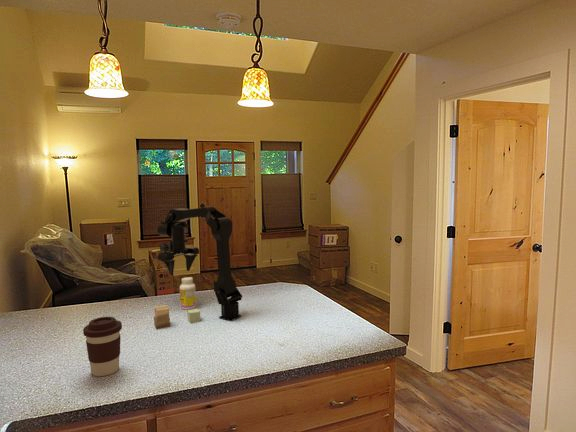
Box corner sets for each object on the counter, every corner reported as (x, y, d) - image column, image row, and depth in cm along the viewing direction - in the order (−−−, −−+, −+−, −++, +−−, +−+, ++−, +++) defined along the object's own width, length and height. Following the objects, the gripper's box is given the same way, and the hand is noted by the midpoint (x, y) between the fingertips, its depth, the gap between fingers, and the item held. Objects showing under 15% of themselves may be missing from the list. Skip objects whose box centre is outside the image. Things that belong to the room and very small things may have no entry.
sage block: (200, 321, 150) (200, 311, 149) (190, 323, 148) (189, 313, 148) (197, 318, 153) (197, 308, 153) (187, 320, 151) (187, 310, 151)
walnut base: (170, 327, 145) (169, 317, 144) (156, 329, 142) (155, 320, 142) (167, 322, 149) (167, 314, 149) (154, 325, 147) (153, 316, 147)
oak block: (169, 317, 145) (168, 308, 144) (156, 319, 143) (156, 310, 142) (167, 314, 149) (166, 305, 148) (154, 316, 146) (154, 307, 146)
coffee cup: (129, 362, 116) (126, 313, 115) (115, 379, 106) (112, 326, 105) (95, 363, 116) (92, 314, 115) (79, 380, 106) (75, 327, 105)
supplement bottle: (179, 306, 168) (177, 277, 167) (194, 304, 171) (193, 275, 170) (181, 311, 162) (180, 281, 161) (197, 308, 165) (196, 279, 164)
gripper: (182, 233, 178) (183, 266, 180) (148, 239, 163) (149, 275, 164) (199, 235, 172) (200, 269, 174) (165, 241, 157) (167, 278, 158)
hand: (179, 273), depth 168 cm, fingers open, 9 cm apart
